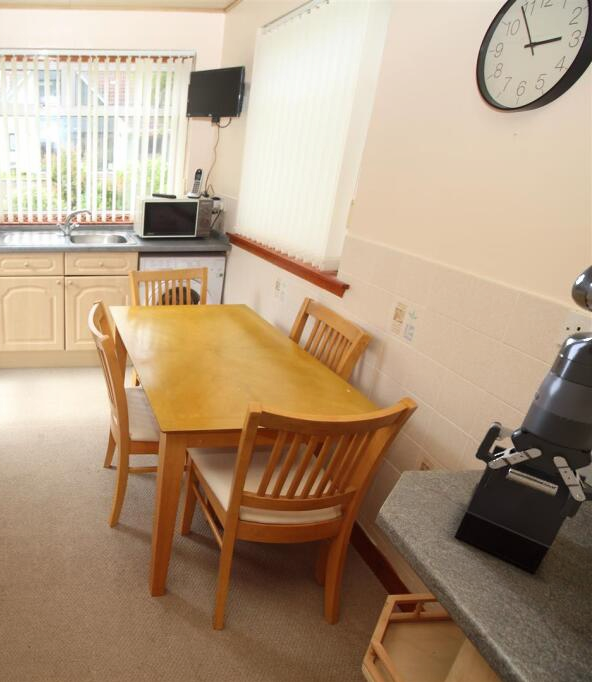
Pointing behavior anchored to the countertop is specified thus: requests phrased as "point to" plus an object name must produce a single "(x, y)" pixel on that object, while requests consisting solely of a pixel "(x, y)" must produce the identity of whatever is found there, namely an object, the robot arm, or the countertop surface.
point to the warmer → (500, 541)
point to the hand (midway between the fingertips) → (523, 500)
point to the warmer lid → (523, 500)
